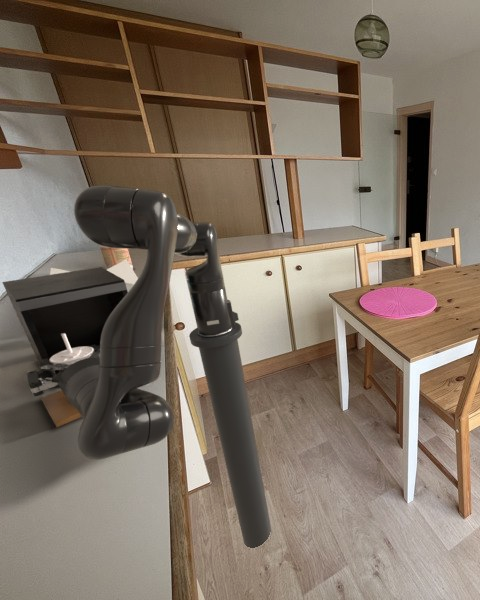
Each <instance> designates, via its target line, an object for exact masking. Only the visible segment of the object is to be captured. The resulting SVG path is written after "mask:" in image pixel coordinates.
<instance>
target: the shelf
mask: <svg viewBox="0 0 480 600" xmlns="http://www.w3.org/2000/svg"><path fill="white" fill-rule="evenodd" d="M2 286H3V287H4V289H5V292H6V294H7V296H8V298H9V301H10V302H11V304H12V307H13V309H14V311H15V313H16V316H17V318H18V320H19V322H20V324H21V326H22V328H23V331H24V333H25V336H26V338H27V340H28V342H29V344H30V346H31V348H32V351H33V353H34V355H35V357H36V360H37V362H38V364H39V363H41V362H43V361H42V360H43V359H46V358H48V360H49V359H50V358H51V357H52V356H53V355H55V354H57V353H59V352H61V351H64V350H67V347H66V345H65V343H64V340H63V338H62V335H61V334H63V333H65V334H66V337H67V339H68V342H69V344H70V347H71V348H75V347H83V346H88V347H91V345H94V344H95V345H96V346H98V345H100V340H101V333H102V330H103V327H104V324H105V322H106V320H107V318H108V317H109V315H110V314H111V312H112V311H113V310H114V309H115V307H116V306H117V305H118V304H119V302H120V301H121V300H122V299H123V298H124V297H125V295H126V294H127V293H128V291H127V288H126V284H125V281H124V280H123V279H122V278H120V277H118V276H116V275H115V274H113V273H111V272H109V271H107V268H106V269H105V268H104V267H102V266H99V267H92V268H86V269H80V270H73V271H71V272H65V273H59V274H52V275H50V274H46V275H40V276H33V277H27V278H21V279H14V280H8V281H2ZM49 381H51V380H49Z"/></svg>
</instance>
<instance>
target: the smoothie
mask: <svg viewBox="0 0 480 600" xmlns="http://www.w3.org/2000/svg"><path fill="white" fill-rule="evenodd" d="M61 335H62V338H63V340H64V343H65V345H66V347H67V350H64V351H61V352H59V353H57V354H55V355H53V356H52V357H51V358H50V359H49V361H50V363H51V364H52V365H56V364H68V365H69V364H73V363H75V362H77V361H80V360H83V359H87V358H89V357H90V356H91V354H92V353H95V351H94V349H93V348H92V347H88V346H83V347H75V348H71V347H70V344H69V342H68V339H67V337H66V334H65V333H63V334H61Z"/></svg>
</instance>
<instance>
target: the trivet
mask: <svg viewBox="0 0 480 600" xmlns="http://www.w3.org/2000/svg"><path fill="white" fill-rule="evenodd" d="M40 400H41V401H42V403H43V405H44V407H45V409H46V410H47V413H48V415H49V416H50V418H51V420H52V422H53V424H54V425H55V428H59V427H61V426H63V425H65V424H68V423H70V422H73V421H75V420H78V419H80V418H83V417H82V416H81V414H80V413H79V411H78V410H77V409H76V408H74V407H73V406H72V405H71V404H70V403H69V402H68V401H67V397H66V396H65V394H64V393H63V391H62V390H61V389H60V390H59V391H56V392H53V393H50V394H48V395H45V396H43V397H40Z"/></svg>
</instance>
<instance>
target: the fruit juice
mask: <svg viewBox="0 0 480 600" xmlns="http://www.w3.org/2000/svg"><path fill="white" fill-rule="evenodd" d="M98 247H99V249H100V252H101V255H102V259H103V262H104V264H105V267H106V270H107V269H109V268H111V267H113V266H115V265H116V264H118V263H120V262H122V261H124V260H127V261H128V263H129V265H130V266H131V268H132V269H133V270H134V266H133V262H132V259H131V255H130V251H129V249H127V248H111V247H106V246H101V245H99V244H98Z"/></svg>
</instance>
